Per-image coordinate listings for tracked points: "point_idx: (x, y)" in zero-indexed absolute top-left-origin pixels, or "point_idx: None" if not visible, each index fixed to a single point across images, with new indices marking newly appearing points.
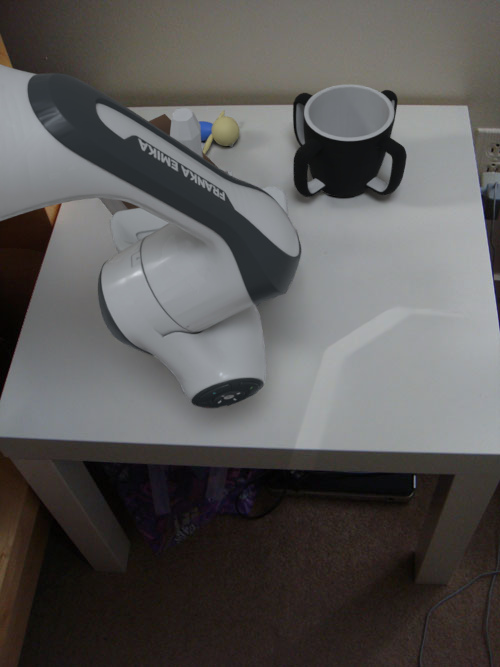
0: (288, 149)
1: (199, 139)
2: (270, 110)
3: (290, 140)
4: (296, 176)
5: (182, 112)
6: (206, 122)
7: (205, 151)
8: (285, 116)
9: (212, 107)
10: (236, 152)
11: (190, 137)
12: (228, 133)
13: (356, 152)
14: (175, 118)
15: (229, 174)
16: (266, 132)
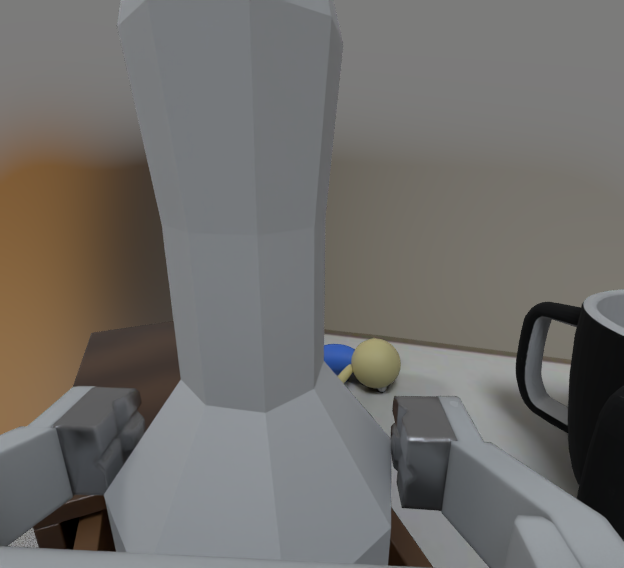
0: (492, 414)
1: (319, 74)
2: (444, 354)
3: (491, 400)
4: (606, 481)
5: None
6: (345, 345)
7: None
8: (471, 364)
9: (355, 339)
10: (390, 402)
11: None
12: (382, 364)
13: None
14: None
15: (451, 411)
16: (443, 381)
